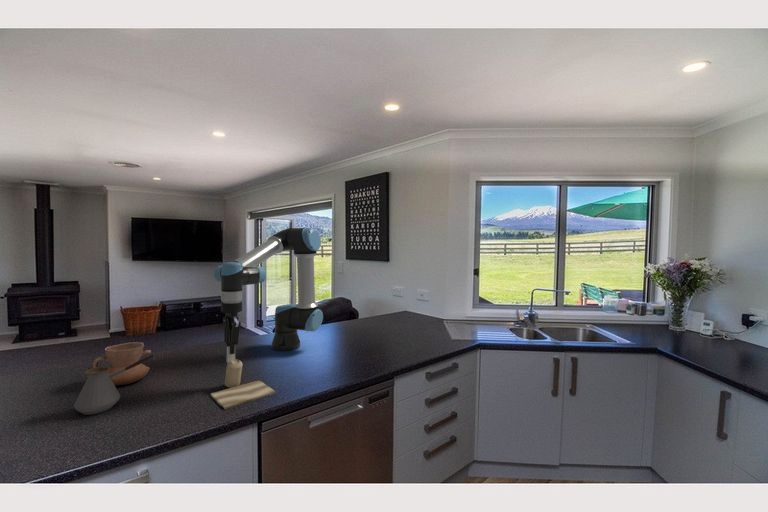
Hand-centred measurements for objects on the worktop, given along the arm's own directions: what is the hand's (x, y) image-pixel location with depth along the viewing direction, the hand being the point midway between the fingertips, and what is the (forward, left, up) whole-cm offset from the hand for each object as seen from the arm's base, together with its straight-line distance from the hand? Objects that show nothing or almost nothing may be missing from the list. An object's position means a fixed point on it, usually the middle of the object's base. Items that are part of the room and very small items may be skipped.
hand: (230, 361), depth 128 cm
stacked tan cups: (-31, -30, -9) cm, 44 cm away
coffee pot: (-9, -34, -9) cm, 36 cm away
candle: (+1, 0, -9) cm, 9 cm away
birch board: (+12, 0, -9) cm, 15 cm away
